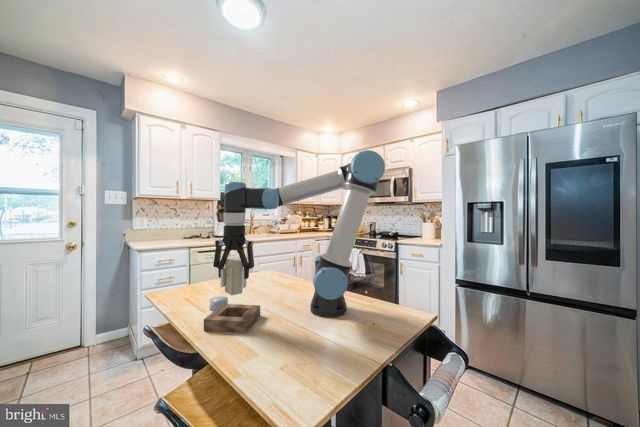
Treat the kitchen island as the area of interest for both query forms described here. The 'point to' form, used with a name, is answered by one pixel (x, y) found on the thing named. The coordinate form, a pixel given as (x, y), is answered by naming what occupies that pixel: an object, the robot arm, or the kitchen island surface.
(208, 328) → the socket block
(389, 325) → the kitchen island surface
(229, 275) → the skincare box
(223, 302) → the light blue rounded block
